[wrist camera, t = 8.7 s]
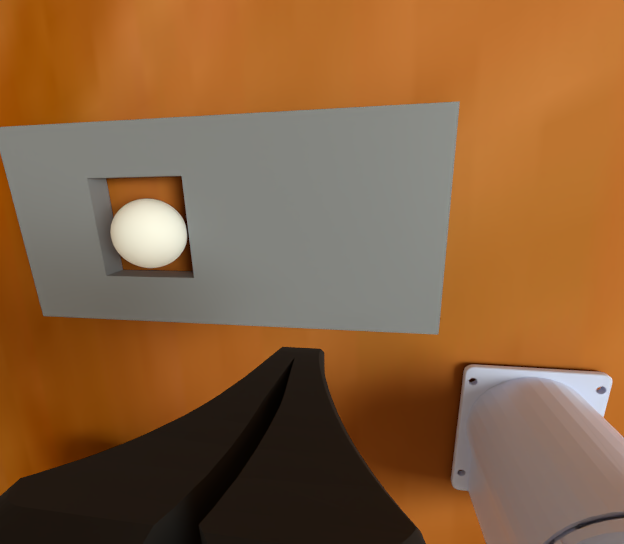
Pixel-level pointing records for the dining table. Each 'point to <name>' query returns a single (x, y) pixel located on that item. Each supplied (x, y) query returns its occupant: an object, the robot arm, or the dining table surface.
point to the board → (248, 216)
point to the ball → (148, 233)
